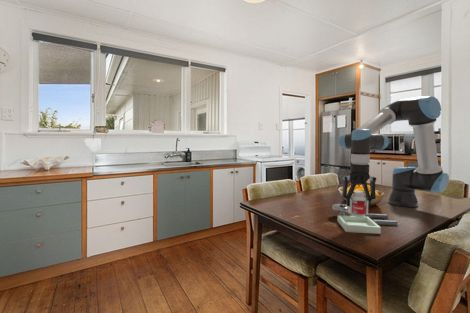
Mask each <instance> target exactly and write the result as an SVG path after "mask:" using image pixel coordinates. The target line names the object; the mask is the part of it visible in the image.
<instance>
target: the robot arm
mask: <svg viewBox="0 0 470 313" xmlns="http://www.w3.org/2000/svg"><path fill="white" fill-rule="evenodd" d="M441 111H442V106H441V102H440V101H439V99H438V98H436V97H435V96H432V95H427V96H426V95H425V96H423V95H422V96H418V97H417V96H416V97H411V98H402V99H399V100H395V101H393V102H391V103H390V104H388V105H386V106H385V107H382V108H381V109H380V110H379V111H378V113H377V114H376V115H375V116H373V117H372V118H371V119H369V120H368V121H366V122H365V123H363V124H362V125H361V126H359V127H357V128H356V129H353V130H352V132H350V133H345V134H342V135H340V136H339V138H338V146H340V148H341V149H347V150H350V153H351V154H350V168H349V169H350V171H349V172H350V173H349V175H343V176H342V179H343V185H342V192H341V193H342V197H343V198H344V199H346V200H345V201H346V203H345V205H347V206H348V214H349V215H351V214H352V199H351V197H352V196H353V191H355V189H356V187H357V185H361V187H363V192H365V195H364V196H365V198H366V213H365V215H368V214H369V208H371V204H372V202H371V201H373V200H376V198H377V197H376V182H377V177H375V176H371V175H370V159H371V157H370V156H371V151H382V150H385V149H386V148H387V147H388V146H389V143H390V140H389V137H388V136H387V135H386V134H382V133H378V132H380V130H382V129H383V128H385V127H386V126H387V125H391V124H393V123H395V122H401V121H408V126H410V127H412V130H413V131H412V132H413V138H414V146H415V153H416V159H417V165H418V166H417V167H416V166H399V167H394V168H393V170H392V177H391V178H392V180H391V181H392V183H391V192H390V193H389V196H388V198H387V203H388V204H390V205H393V206H397V207H405V208H417V207H418V206H419V200H418V198H417V195H416V190H418V191H424V192H429V193H433V194H434V193H436V194H440V193H441V194H442V193H443V192H444V191H445V190H446V189H447V188H448V185H449V182H450V181H449V180H450V176H449V174H448V173H447V172H446V171H445V172H444V171H443V167H442V166H440V165H439V160H438V152H437V151H438V150H437V145H436V137H435V136H436V135H435V130H434V129H435V128H434V125H435V123H436V122H437V119H439V117H440V115H441ZM349 180H351V183H350V185H349ZM368 180H369V187H368V183H367V182H368ZM348 186H349V188H348ZM369 188H370V190H369Z"/></svg>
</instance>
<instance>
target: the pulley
mask: <svg viewBox="0 0 470 313" xmlns="http://www.w3.org/2000/svg"><path fill="white" fill-rule="evenodd" d="M331 208H332V210H333V211H335V212H338V213H339V215H343V216H346V213H348V206H347V205H346V203H345V204H344V203H333V204H332V206H331ZM348 214H349V213H348Z"/></svg>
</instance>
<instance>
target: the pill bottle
mask: <svg viewBox="0 0 470 313" xmlns="http://www.w3.org/2000/svg"><path fill="white" fill-rule="evenodd" d="M351 199H352V214H350V216H356V217H365V215H366V214H365V213H366V199H367V198H366V195H365V192H364V190H354V191H353V194H352V196H351Z"/></svg>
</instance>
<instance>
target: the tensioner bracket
mask: <svg viewBox="0 0 470 313" xmlns="http://www.w3.org/2000/svg"><path fill="white" fill-rule="evenodd" d="M365 217H369V218H370V219H372V220H373V221H374V222H375V223H376V224H377V225H379V226H394V227H396V226H397V227H398V223H399V222H398V220H388V219H389V218H388V217H389V216H388V214H385V213H368V215H366V214H365ZM383 219H384V220H383Z"/></svg>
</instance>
